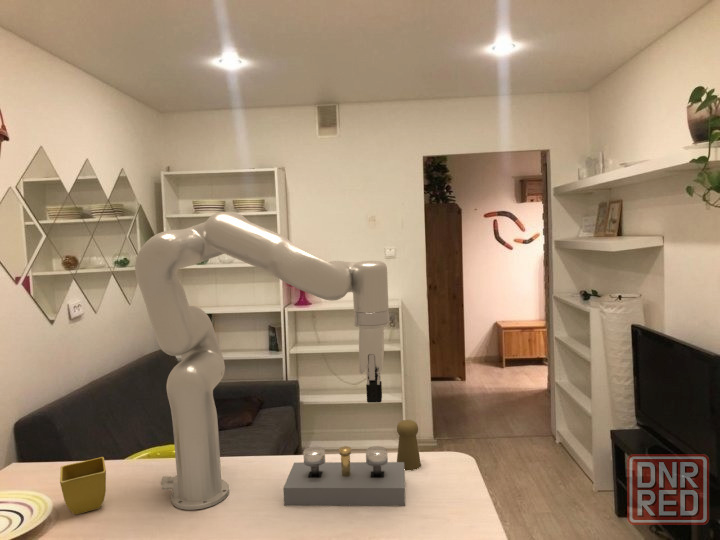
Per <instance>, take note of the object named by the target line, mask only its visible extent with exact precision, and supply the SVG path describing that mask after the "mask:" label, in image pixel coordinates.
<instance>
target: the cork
mask: <svg viewBox="0 0 720 540" xmlns="http://www.w3.org/2000/svg"><path fill="white" fill-rule="evenodd" d="M396 433H397V434H398V435H399V436H398V446H397V456H396V462H404V469H405V471H407V470H411V471H414V470H413V469H416V470H418V469H420V468H421V467H422V463H421V459H420V458H421V457H420V456H421V455H420V452H419V445H418V444H419V443H418V439H417V435H418V433H419V427H418V423H417V422H416V421H414V420H411V419H404V420H401V421H399V422H398V424H397V426H396ZM419 467H420V468H419ZM417 468H418V469H417Z"/></svg>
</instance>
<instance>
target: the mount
mask: <svg viewBox="0 0 720 540" xmlns="http://www.w3.org/2000/svg"><path fill="white" fill-rule="evenodd" d="M350 471H351V475H350V476H348V477H344V476H342V469H341V461H340V462H339V461H338V462H336V461H334V462H331V461H330V462H326V461H325V463H324V464H323V465H320V466H319V478H311V467H310V466H306V465H305V464H304V461H303V462H301V461H300V462H294V463H293V465H292V467H291V469H290V471H289V474H288V476H287V478H286V480H285V483H284V485H283V504H284V506H286V507H287V506H290V507H292V506H293V507H294V506H295V507H296V506H301V507H308V506H309V507H311V506H312V507H313V506H314V507H316V506H317V507H321V506H322V507H323V506H325V507H327V506H328V507H334V506H336V507H338V506H339V507H340V506H341V507H344V506H345V507H349V506H350V507H363V506H364V507H405V506H406V481H405V480H406V479H405V478H406V476H405V475H406V474H405V471H406V470H404V462H397V461H388V462H387V464H385V465H383V466H381V476H382V478H373V466H370V465H368V464H367V463H366V462H365V461H364V462H363V461H361V462H356V461H355V462H354V461H353V462H351V461H350Z"/></svg>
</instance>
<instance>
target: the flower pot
mask: <svg viewBox="0 0 720 540" xmlns="http://www.w3.org/2000/svg"><path fill="white" fill-rule="evenodd" d="M105 462H106V461H105V458H104V456H100V457H97V458H92V459H87V460H84V461H79V462H74V463H70V464H69V463H68V464H66V465H63V466H61V467H60V472H59V473H60V476H59V483H60V488H61V491H62V496H63V501H64V502H65V505H66V507H67V508H68V510H69V512H71V513H72V514H73V515H75V516H76V515H80V514H83V513H87V512H91V511H95V510H99V509H100V508H101V507H102V506H103V502H104V500H105V497H106V491H107V480H106V479H107V469H106V463H105Z"/></svg>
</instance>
